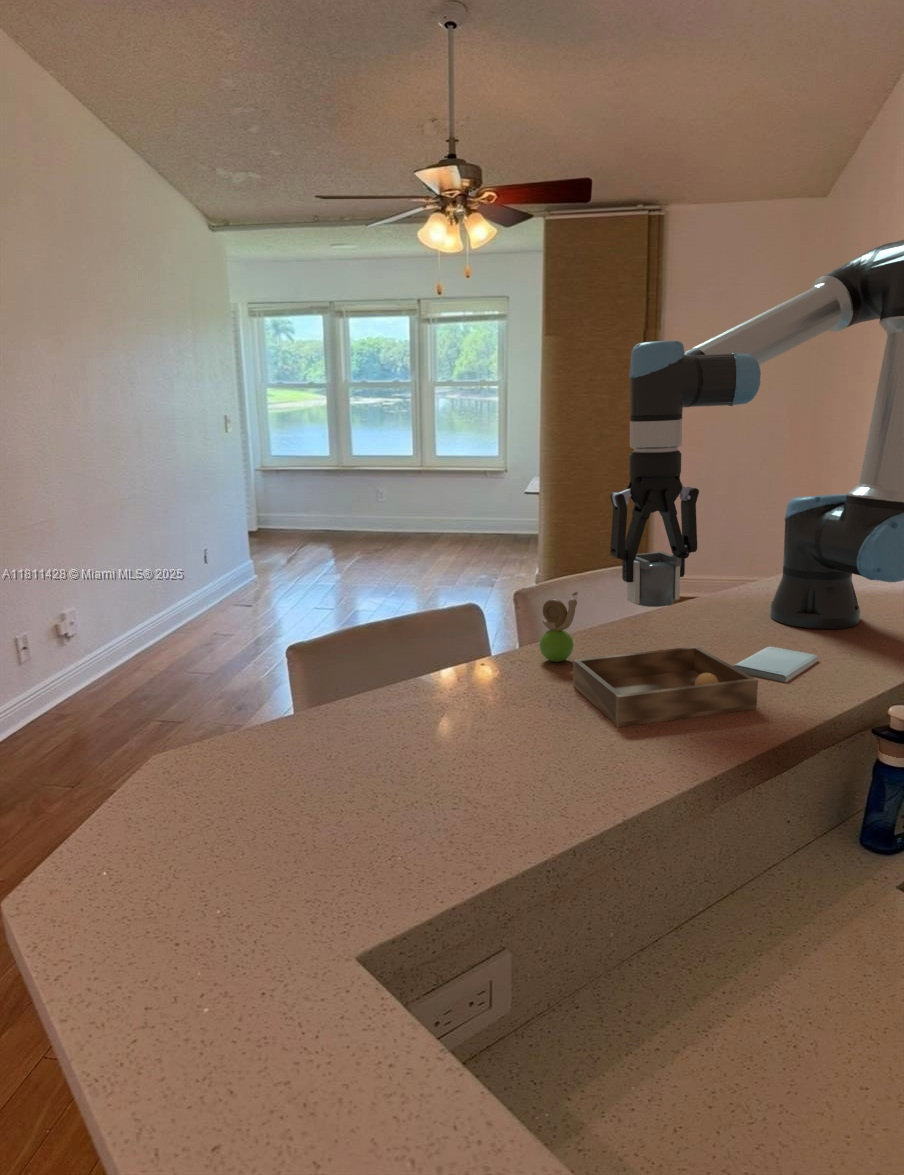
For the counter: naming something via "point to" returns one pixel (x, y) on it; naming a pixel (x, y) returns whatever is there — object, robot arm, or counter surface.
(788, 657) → the hard drive
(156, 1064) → the counter surface
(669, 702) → the tray
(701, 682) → the ball
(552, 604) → the snail figurine
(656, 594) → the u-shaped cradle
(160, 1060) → the counter surface
